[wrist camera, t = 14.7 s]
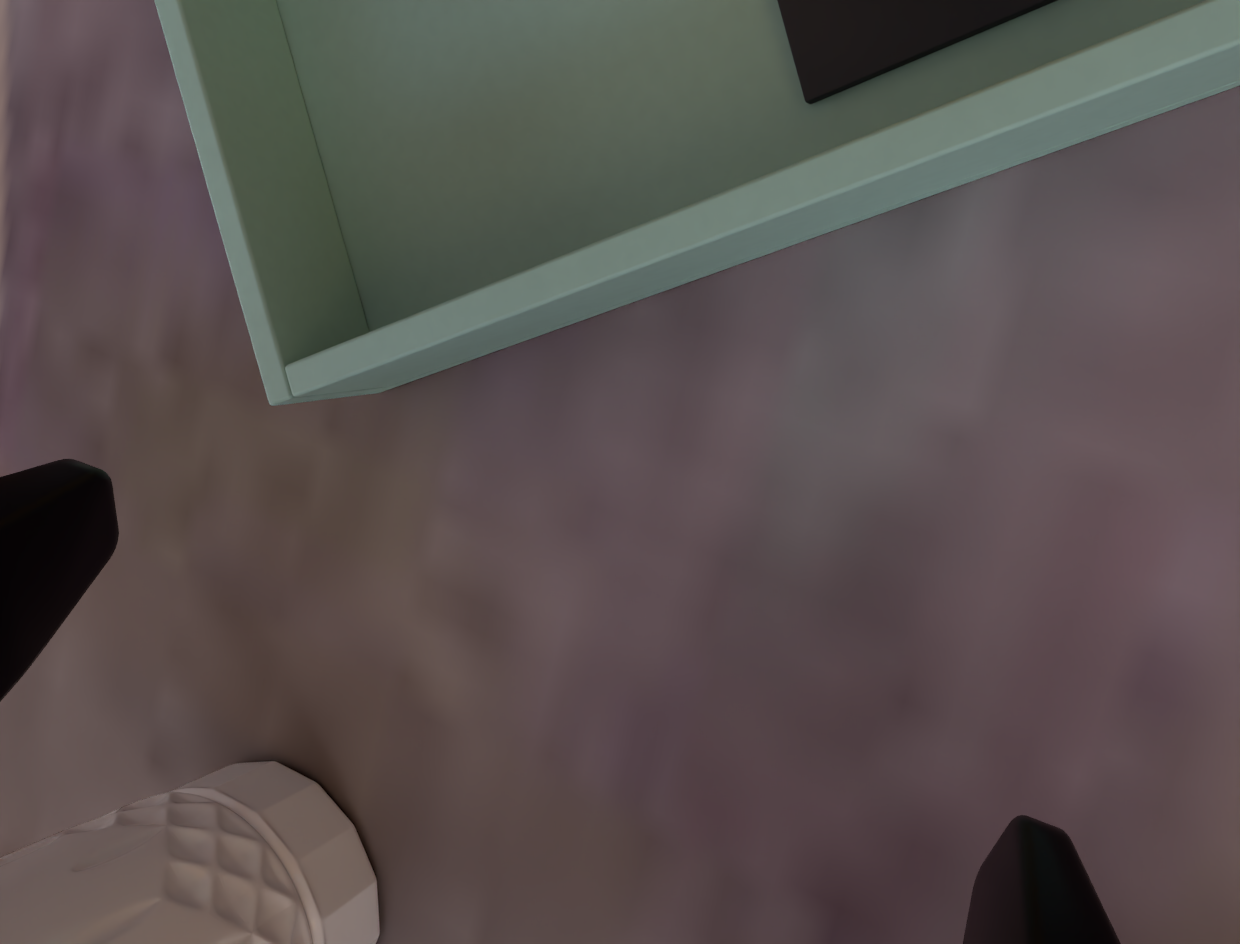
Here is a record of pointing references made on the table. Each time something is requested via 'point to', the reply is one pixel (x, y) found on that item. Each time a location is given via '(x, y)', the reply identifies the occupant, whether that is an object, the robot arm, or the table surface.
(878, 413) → the table surface
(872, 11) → the mat
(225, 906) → the white cup
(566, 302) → the green tray
